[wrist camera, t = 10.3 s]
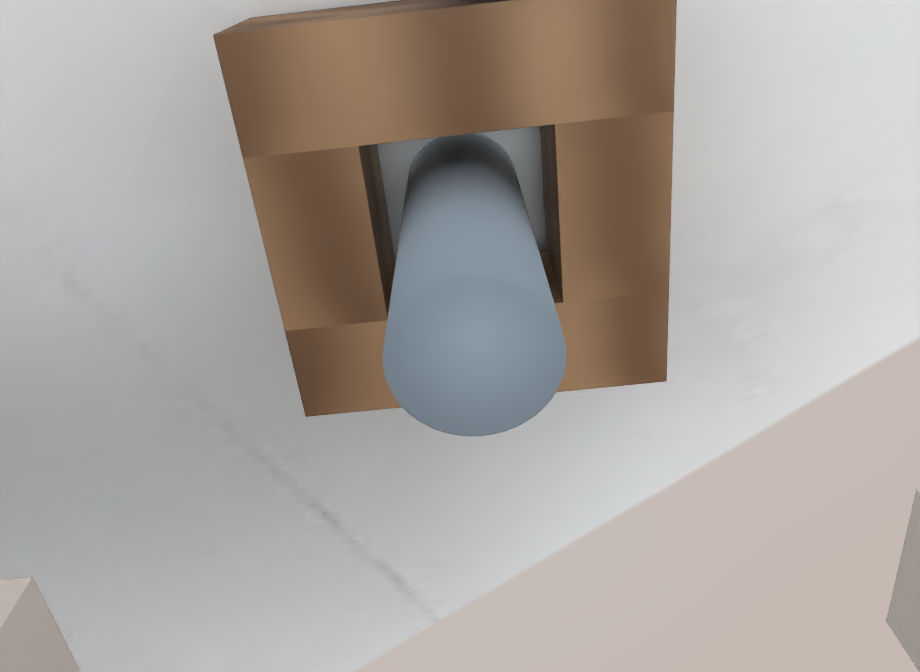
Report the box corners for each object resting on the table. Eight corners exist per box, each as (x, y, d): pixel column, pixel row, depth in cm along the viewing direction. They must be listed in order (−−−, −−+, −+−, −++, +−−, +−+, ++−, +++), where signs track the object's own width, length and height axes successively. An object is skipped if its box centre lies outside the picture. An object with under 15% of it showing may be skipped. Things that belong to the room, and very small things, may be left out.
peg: (415, 243, 32) (396, 443, 19) (400, 138, 30) (369, 287, 17) (520, 232, 32) (569, 427, 19) (512, 126, 29) (562, 266, 17)
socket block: (323, 353, 34) (305, 416, 30) (250, 18, 27) (213, 35, 23) (637, 321, 34) (666, 381, 29) (639, -28, 27) (676, -19, 23)
